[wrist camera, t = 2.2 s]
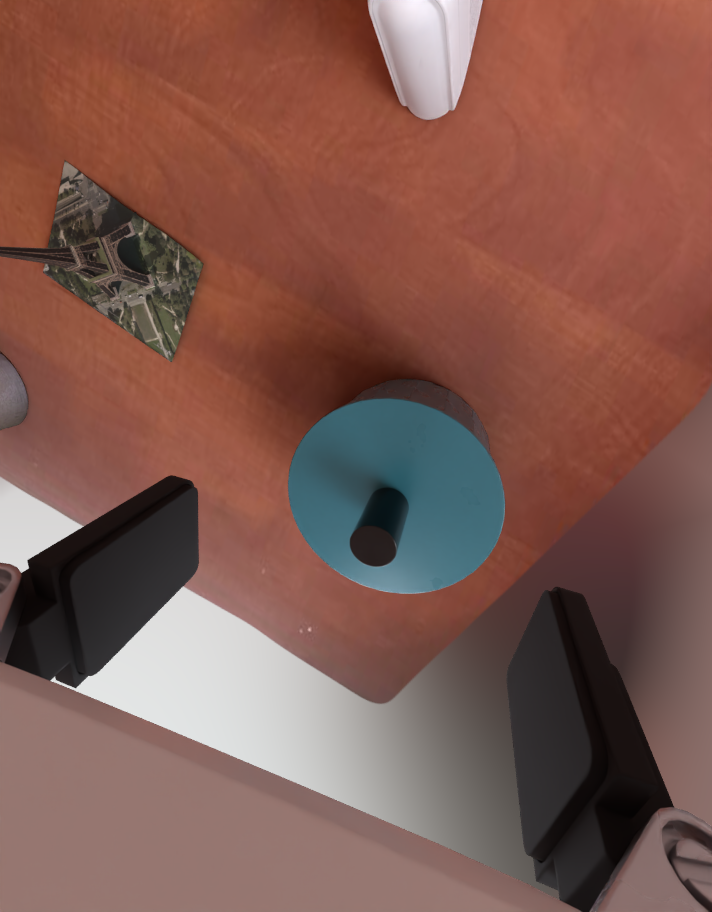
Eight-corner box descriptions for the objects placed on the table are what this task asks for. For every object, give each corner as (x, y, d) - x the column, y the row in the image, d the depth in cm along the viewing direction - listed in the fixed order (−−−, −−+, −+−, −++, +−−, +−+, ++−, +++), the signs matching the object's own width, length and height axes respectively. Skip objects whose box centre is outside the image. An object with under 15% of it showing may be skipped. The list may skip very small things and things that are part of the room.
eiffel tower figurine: (46, 273, 38) (-150, 262, 26) (64, 160, 33) (-165, 83, 21) (174, 361, 37) (36, 392, 26) (210, 260, 33) (63, 239, 21)
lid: (531, 415, 23) (550, 452, 18) (475, 605, 29) (477, 676, 24) (297, 377, 26) (252, 399, 21) (290, 557, 32) (254, 610, 27)
